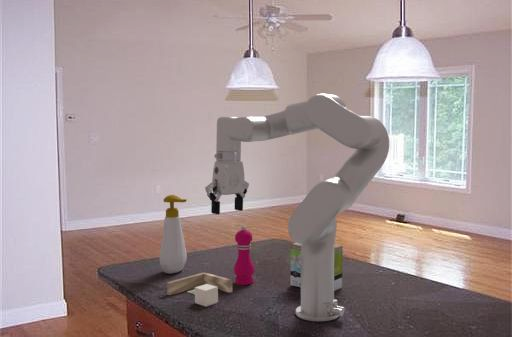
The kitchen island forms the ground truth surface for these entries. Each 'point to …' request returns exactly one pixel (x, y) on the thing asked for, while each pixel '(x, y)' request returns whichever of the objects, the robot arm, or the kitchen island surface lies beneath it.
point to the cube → (206, 295)
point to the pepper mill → (244, 258)
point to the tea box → (296, 265)
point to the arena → (198, 283)
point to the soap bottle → (172, 239)
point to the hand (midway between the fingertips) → (227, 211)
